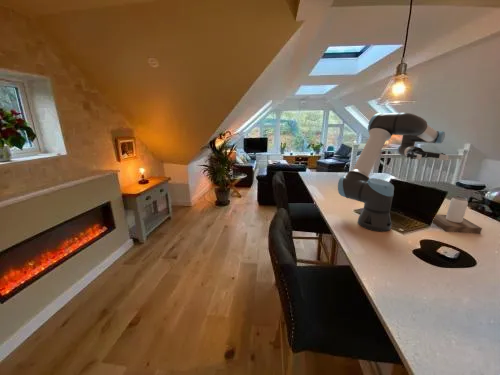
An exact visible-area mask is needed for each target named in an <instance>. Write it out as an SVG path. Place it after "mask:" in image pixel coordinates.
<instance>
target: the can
mask: <svg viewBox="0 0 500 375" xmlns="http://www.w3.org/2000/svg"><path fill="white" fill-rule="evenodd" d="M468 201H469V200H468V198H465V197H461V196H452V198H451V199H450V202H449V203H448V204H449V205H448V208H447V212H446V214H445V215H446V219H447V220H448V221H451V222H455V223H461V222H462V221H463V218H464V217H465V214H466V211H467V207H468V205H469V203H468ZM464 219H465V218H464Z"/></svg>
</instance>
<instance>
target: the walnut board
mask: <svg viewBox="0 0 500 375" xmlns="http://www.w3.org/2000/svg"><path fill="white" fill-rule="evenodd" d="M436 214H437V215H436V216H435V218H434V220H433V223H432V224H434V225H436V226H437V227H439V228H440V230H442V231H444V232H448V233H458V234H459V233H462V234H473V235H474V234H475V235H476V234H478V235H481V233H482V230H483V228H482V227H481V226H479V225H477V224H475V223H474V222H471V221H470V220H468V219H466V218H463V221H462V222H461V223H455V222H451V221H448V220H447V219H446V215H447V214H440V213H439V214H438V213H436Z"/></svg>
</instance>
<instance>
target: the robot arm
mask: <svg viewBox="0 0 500 375" xmlns="http://www.w3.org/2000/svg"><path fill="white" fill-rule="evenodd" d="M367 130H368V135H369V137H368V139H367V141H366V143H365V145H364V147H363V149H362V150H361V153H360V154H359V157H358V159H357V161H356V162H355V165H354V166H353V168H352V170H349V171H348V172H347V174H346V175H342V176H340V177H339V179H338V182H337V192H338V194H339V195H340V196H341V197H343V198H346V199H350V200H354V201H357V202H360V203H364V204H363V209H362V211H361V213H360V214H359V216H358V219H357V224H358V225H359V226H360V227H363V228H365V229H367V230H370V231H374V232H375V231H376V232H388V231H391V228H392V220H391V214H390V213H391V212H390V211H391V208H392V203H393V197H394V194H395V193H394V191H395V186H394V184H392V183H391V182H390V181H388V180H385V179H381V178H375V177H373V178H372V177H371V178H370V177H369V176H370V174H371V172H372V169H373V167H374V166H375V164H376V162H377V160H378V158H379V156H380V154H381V151H382V149H383V148H384V146H385V143H387V141H390V139H391V138H392V136H402V138H401V142H400V145H399V146H398V147H397V150H396V151H397V153H398V154H399V155H400V156H403V157H406V158H409V159H410V160H419V161H421V160H422V158H434V159H438V160H442V161H448V160H449V156H450V155H447V154H446V153H444V152H440V153H438V152H431V151H425V150H423V149H422V147H419V146H415V144H416V143H424V144H425V143H428V144H435V145H436V144H442V143H443V142H444V140H445V137H446V132H445V131H444V130H443V131H441V130H436V129H435V128H433V127H432V126H430V125H429V124H428V122H427V121H426V119H424V118H423V117H421V116H419V115H416V114H414V113H409V112H379V113H375V114H374V115H373V116H371V117H370V119H369V121H368V126H367Z"/></svg>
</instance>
